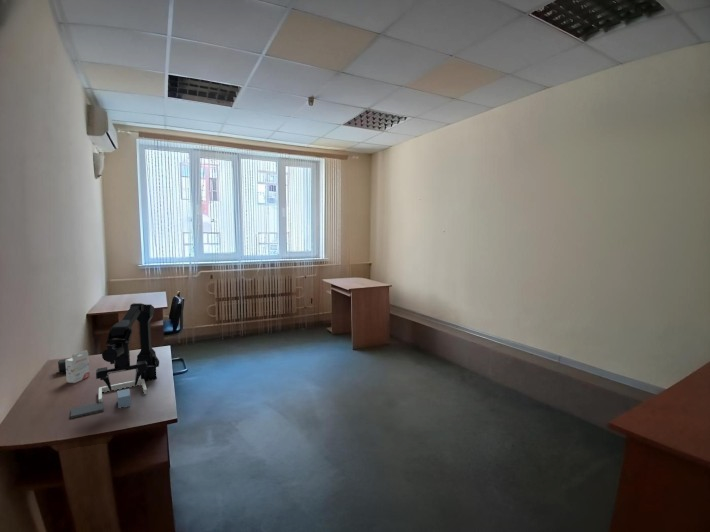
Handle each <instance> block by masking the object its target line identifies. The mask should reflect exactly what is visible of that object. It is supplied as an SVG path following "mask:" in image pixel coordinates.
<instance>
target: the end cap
mask: <svg viewBox="0 0 710 532" xmlns="http://www.w3.org/2000/svg"><path fill="white" fill-rule="evenodd" d="M65 360H67V359H66V358H64V359H60V360H58V362H57V366H58V373H59V374H60V373H61V374H66V373H65V372H66V364H65Z"/></svg>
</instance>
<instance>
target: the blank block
mask: <svg viewBox="0 0 710 532" xmlns="http://www.w3.org/2000/svg"><path fill="white" fill-rule="evenodd" d="M116 395H117V407H118V409H119V408H120V409H122V408H121V407H124V408H127V407H126V406H128V407H131V406H132V404H131V403H132V399H131V391H130V388H124V389H119V390H116ZM130 405H131V406H130Z"/></svg>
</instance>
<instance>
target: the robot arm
mask: <svg viewBox="0 0 710 532" xmlns="http://www.w3.org/2000/svg"><path fill="white" fill-rule="evenodd" d="M154 313H155V307H154V306H153V305H152V304H145V303H141V302H140V303H139V302H138V303H134V302H133V303H131V304H130V306H129V308H128V310H127V311H126V313H125V315H124V316H123V317H122V319H121V321H118V322H115V323H114V324H113V326H111V328H110V329H109V331H108V332H109V333H108V336H107V340H106V342H105V344H106V348H105V349H104V350H103V351H102V354H101V357H102V360H104V361H105V362H108V363H110V365H113V366H114V368H109V369H108V366H106V367H99V368H97V369H95V378H96V380H100V381H104V383H105V384H106V386H108V388H109V390H110V391H109V392H112V391H111V385H112V384H111V380H110V374H116V373H120V372H126V371H131V370H133V371H134V370H135V375H134V377H135V378H134V381H135V386H134V387H137V386H136V385H137V382H138V380H140V379H144V381H145V382H147V381H153V380H157V379H158V376H157V368H158V367H160V360H159V358H158V357H157V354H156V351H155V350H154V348H153V347H152V333H151V332H152V331H151V330H152V329H151V320H152V319H153V317H154ZM136 321H137V322H138V323H139V325H138V326H139V340H140V351H139V353H138V354H137V356H136V362H135V363H136V364H131V361H130V360H131V359H130V355H131V354H130V353H131V352H130V341H131V338H132V335H133V328H132V327H133V325H134V324H135V322H136ZM152 379H153V380H152Z"/></svg>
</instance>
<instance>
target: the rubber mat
mask: <svg viewBox="0 0 710 532" xmlns="http://www.w3.org/2000/svg"><path fill="white" fill-rule="evenodd" d="M104 405H105V403H104V401H102V402H99V401H98V402H95V403H90V404H86V405H85V404H84V405H81V406H76V407H72V408H71V411H70V420H71V419H75V418H80V417H84V416H83V415H85V416H88V414H89V415H93V414H96V412H98V413H101V412H100V411H102V412H104ZM92 413H93V414H92Z"/></svg>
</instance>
